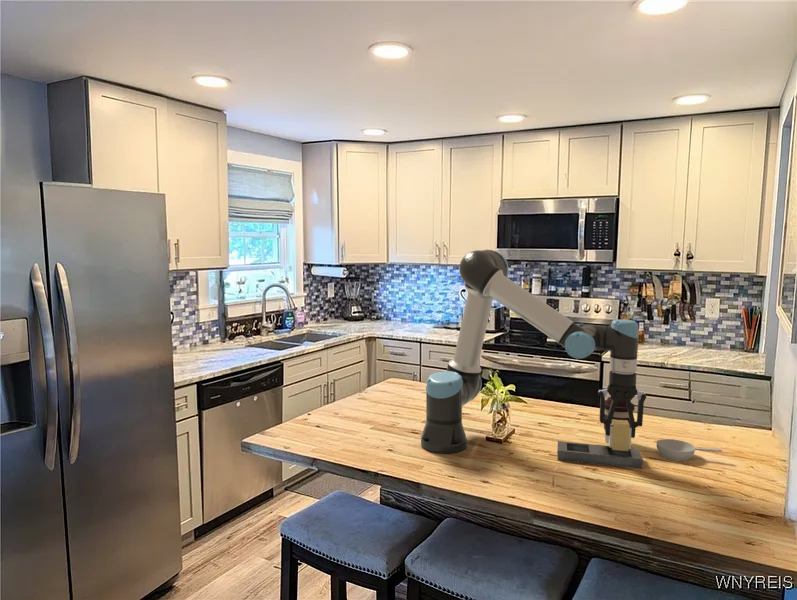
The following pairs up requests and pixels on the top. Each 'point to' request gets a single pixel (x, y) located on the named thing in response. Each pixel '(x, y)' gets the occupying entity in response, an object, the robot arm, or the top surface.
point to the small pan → (678, 449)
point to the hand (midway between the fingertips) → (619, 446)
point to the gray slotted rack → (599, 455)
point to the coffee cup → (617, 413)
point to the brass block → (620, 435)
